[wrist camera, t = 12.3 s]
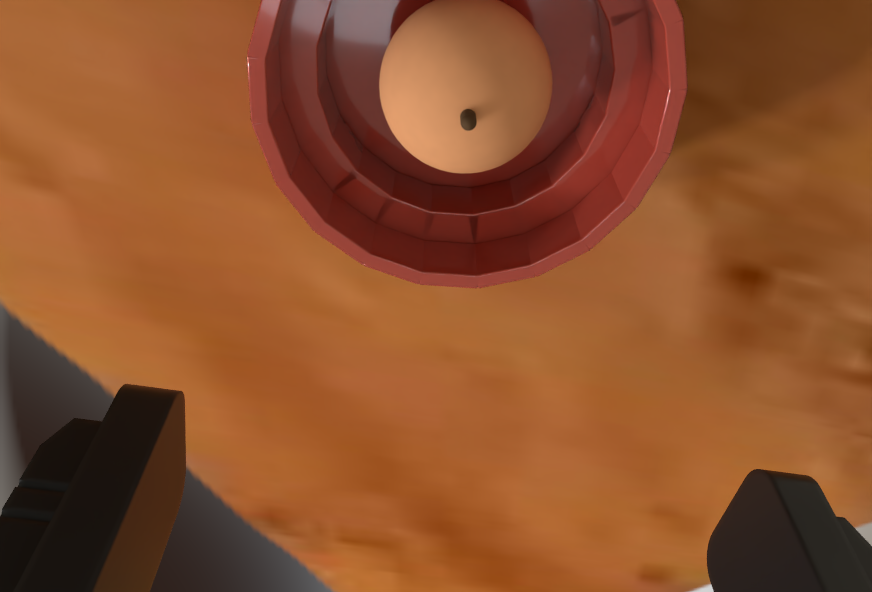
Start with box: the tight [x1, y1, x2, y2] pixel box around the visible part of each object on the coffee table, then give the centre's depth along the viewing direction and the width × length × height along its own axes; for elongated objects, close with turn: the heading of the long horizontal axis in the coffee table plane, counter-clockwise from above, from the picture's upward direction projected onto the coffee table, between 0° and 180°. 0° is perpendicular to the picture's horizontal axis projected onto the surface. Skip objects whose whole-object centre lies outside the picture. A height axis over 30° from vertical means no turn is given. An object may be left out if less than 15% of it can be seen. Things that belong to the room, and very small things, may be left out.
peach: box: [379, 0, 553, 174], centre depth 26 cm, size 6×6×7 cm
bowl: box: [247, 0, 688, 288], centre depth 27 cm, size 14×14×6 cm
